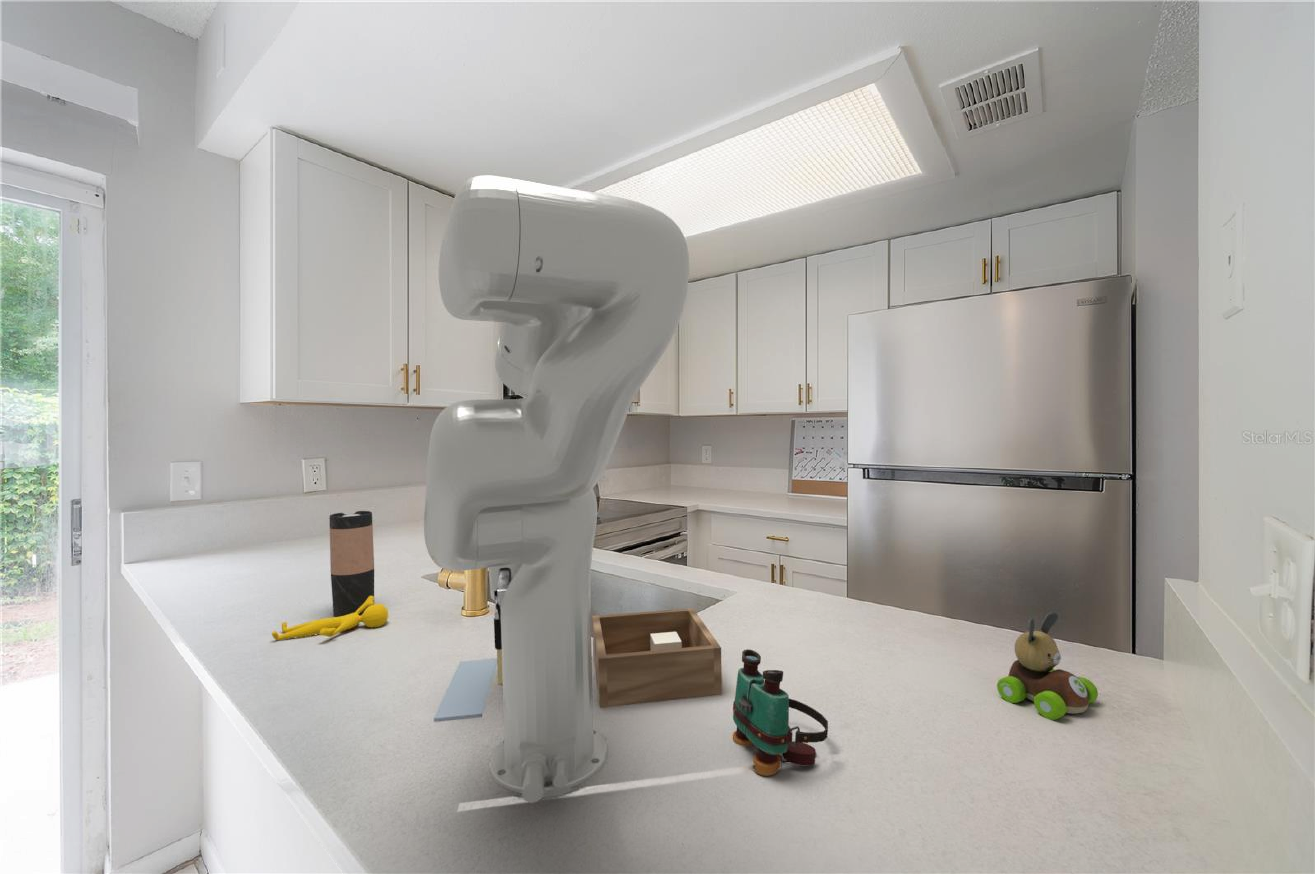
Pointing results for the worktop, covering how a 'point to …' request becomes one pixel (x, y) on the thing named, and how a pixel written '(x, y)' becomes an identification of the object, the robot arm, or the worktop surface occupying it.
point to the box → (654, 658)
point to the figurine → (338, 622)
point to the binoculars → (770, 719)
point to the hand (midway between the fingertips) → (511, 636)
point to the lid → (469, 689)
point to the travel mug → (351, 561)
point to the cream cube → (665, 641)
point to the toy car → (1044, 676)
